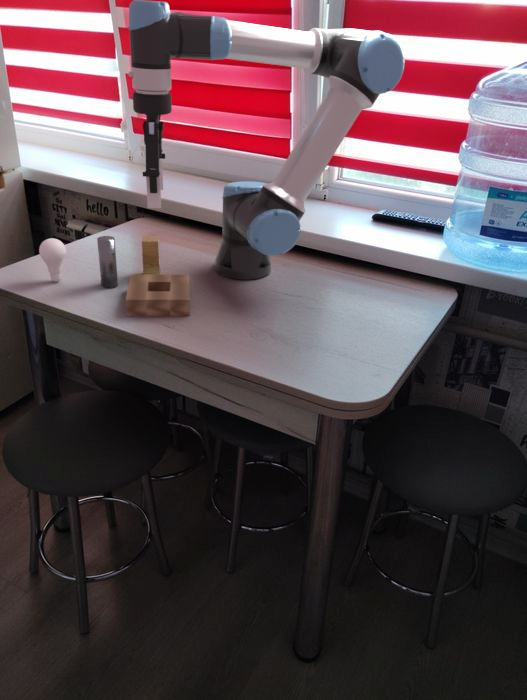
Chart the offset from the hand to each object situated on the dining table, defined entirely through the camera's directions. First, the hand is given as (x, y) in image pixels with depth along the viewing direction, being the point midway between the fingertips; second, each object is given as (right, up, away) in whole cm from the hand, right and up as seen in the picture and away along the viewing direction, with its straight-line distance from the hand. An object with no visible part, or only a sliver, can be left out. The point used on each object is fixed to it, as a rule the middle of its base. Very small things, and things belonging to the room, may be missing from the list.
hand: (155, 198), depth 127 cm
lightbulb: (-28, -16, +19) cm, 37 cm away
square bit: (-6, -13, +25) cm, 29 cm away
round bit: (-15, -17, +19) cm, 29 cm away
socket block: (-1, -21, +12) cm, 25 cm away
